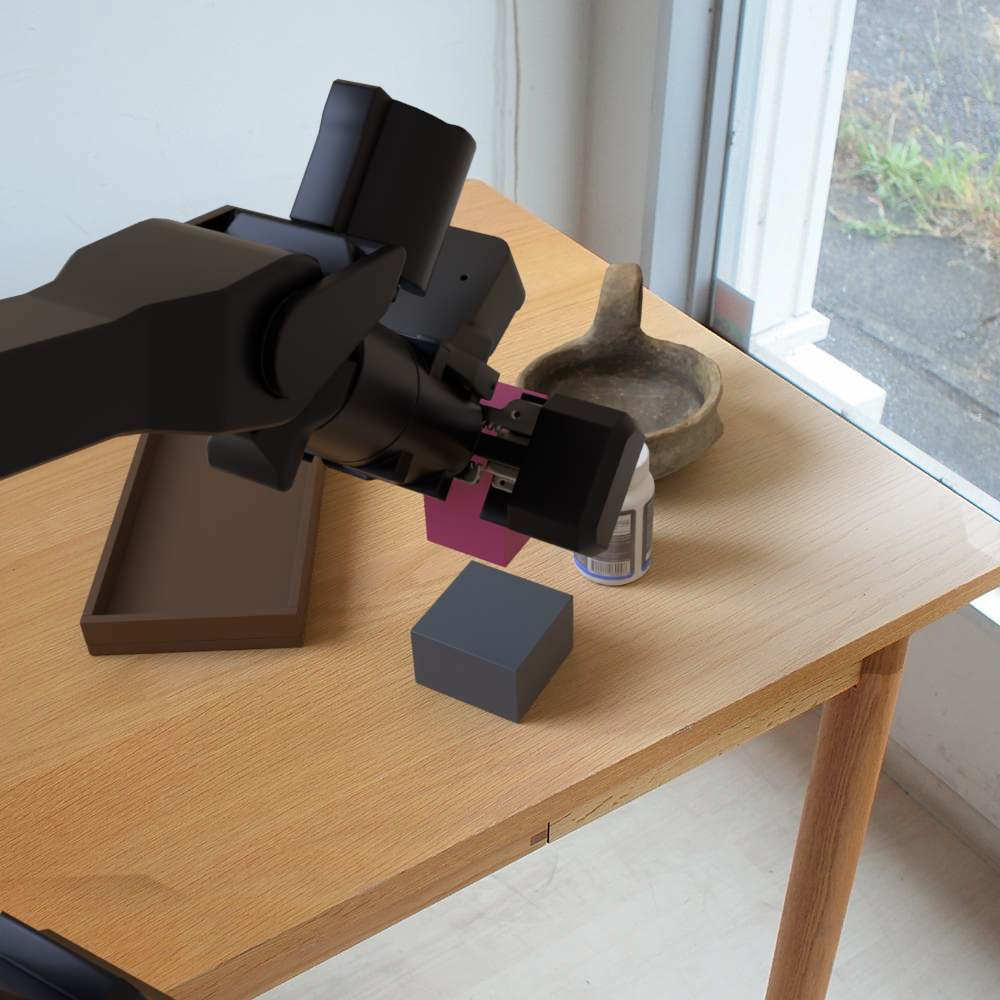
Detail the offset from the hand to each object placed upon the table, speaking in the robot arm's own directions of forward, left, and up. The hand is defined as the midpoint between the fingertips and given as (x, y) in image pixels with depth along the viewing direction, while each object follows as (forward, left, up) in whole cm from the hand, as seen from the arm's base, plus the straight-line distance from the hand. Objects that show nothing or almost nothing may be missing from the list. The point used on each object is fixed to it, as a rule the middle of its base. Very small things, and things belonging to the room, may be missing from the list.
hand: (500, 465), depth 67 cm
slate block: (-1, 0, -13) cm, 13 cm away
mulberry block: (-1, 0, -3) cm, 3 cm away
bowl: (+21, +5, -13) cm, 25 cm away
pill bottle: (+10, -1, -13) cm, 16 cm away
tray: (+7, +27, -13) cm, 31 cm away
